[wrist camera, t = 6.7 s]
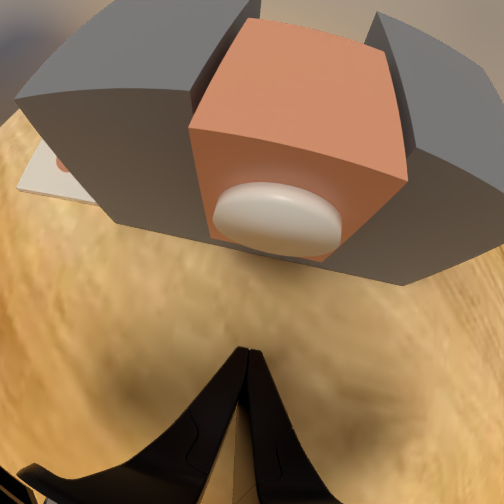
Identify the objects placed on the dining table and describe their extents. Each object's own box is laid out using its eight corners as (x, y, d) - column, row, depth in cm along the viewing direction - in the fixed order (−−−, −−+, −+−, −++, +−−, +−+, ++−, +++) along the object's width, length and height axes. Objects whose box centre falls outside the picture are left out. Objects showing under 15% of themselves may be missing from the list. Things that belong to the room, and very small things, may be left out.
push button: (319, 275, 12) (409, 204, 5) (207, 250, 12) (178, 148, 5) (332, 155, 14) (384, 51, 7) (241, 134, 14) (248, 17, 7)
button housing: (402, 286, 17) (545, 222, 6) (115, 222, 17) (13, 99, 6) (401, 167, 20) (482, 68, 9) (164, 113, 20) (136, -15, 9)
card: (113, 208, 18) (109, 204, 17) (19, 190, 18) (15, 186, 17) (154, 122, 20) (152, 115, 19) (59, 119, 20) (56, 114, 19)
